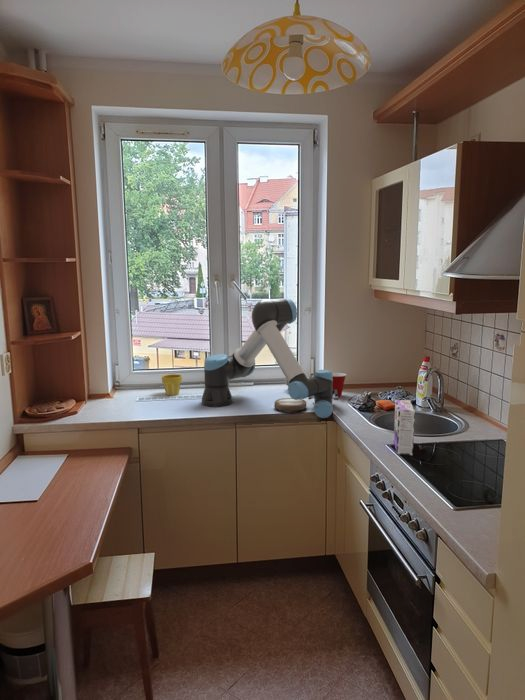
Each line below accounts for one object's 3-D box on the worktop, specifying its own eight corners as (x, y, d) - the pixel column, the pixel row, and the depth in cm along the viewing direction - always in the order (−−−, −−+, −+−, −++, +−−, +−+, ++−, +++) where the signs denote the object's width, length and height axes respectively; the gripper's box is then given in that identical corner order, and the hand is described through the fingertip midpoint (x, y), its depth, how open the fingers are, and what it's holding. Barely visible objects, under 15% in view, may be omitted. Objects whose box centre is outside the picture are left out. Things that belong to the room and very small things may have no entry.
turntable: (270, 403, 236) (270, 399, 236) (298, 400, 241) (298, 396, 240) (281, 412, 222) (281, 407, 222) (311, 408, 227) (311, 404, 227)
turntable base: (274, 406, 235) (274, 404, 235) (297, 403, 239) (297, 402, 239) (283, 413, 224) (283, 411, 224) (307, 410, 228) (307, 409, 228)
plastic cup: (345, 393, 257) (345, 371, 255) (346, 399, 247) (347, 375, 245) (324, 393, 258) (324, 371, 256) (325, 398, 248) (325, 375, 246)
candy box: (393, 441, 187) (394, 399, 184) (409, 441, 186) (411, 399, 183) (396, 454, 174) (397, 409, 171) (413, 455, 173) (415, 410, 170)
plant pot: (170, 390, 267) (169, 373, 265) (186, 392, 262) (185, 374, 261) (158, 395, 258) (157, 377, 256) (174, 397, 253) (174, 378, 251)
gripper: (301, 408, 220) (303, 395, 243) (344, 409, 218) (342, 395, 241) (301, 392, 219) (303, 380, 241) (345, 392, 217) (342, 380, 239)
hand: (323, 388), depth 241 cm, fingers closed on condiment, 6 cm apart
